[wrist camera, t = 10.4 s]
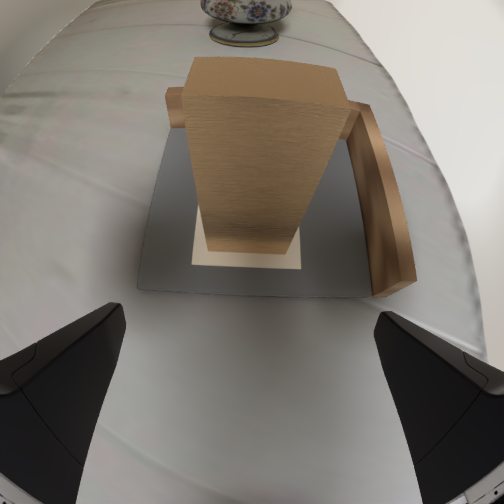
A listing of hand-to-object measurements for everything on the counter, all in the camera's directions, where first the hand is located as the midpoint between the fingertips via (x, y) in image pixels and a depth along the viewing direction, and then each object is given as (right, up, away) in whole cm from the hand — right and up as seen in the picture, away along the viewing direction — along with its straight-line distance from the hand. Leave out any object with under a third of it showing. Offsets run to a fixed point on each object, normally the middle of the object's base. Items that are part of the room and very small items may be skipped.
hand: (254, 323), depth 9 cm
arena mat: (0, +6, +11) cm, 13 cm away
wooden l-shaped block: (0, +6, +11) cm, 12 cm away
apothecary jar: (-1, +33, +22) cm, 40 cm away
